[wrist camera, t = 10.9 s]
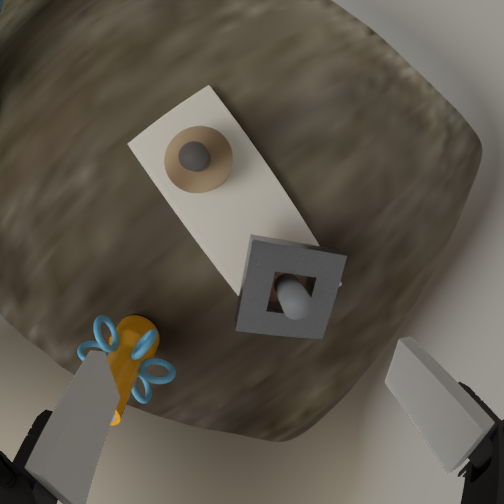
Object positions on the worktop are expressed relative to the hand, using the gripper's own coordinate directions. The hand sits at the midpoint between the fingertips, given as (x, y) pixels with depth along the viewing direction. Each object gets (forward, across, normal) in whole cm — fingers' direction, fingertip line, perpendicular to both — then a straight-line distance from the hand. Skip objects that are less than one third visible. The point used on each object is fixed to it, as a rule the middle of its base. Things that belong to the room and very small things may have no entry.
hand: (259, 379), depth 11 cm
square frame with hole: (+17, +5, -2) cm, 17 cm away
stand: (+21, -4, +10) cm, 23 cm away
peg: (+21, +5, -3) cm, 21 cm away
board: (+22, 0, +4) cm, 22 cm away
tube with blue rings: (+22, -13, -12) cm, 28 cm away
